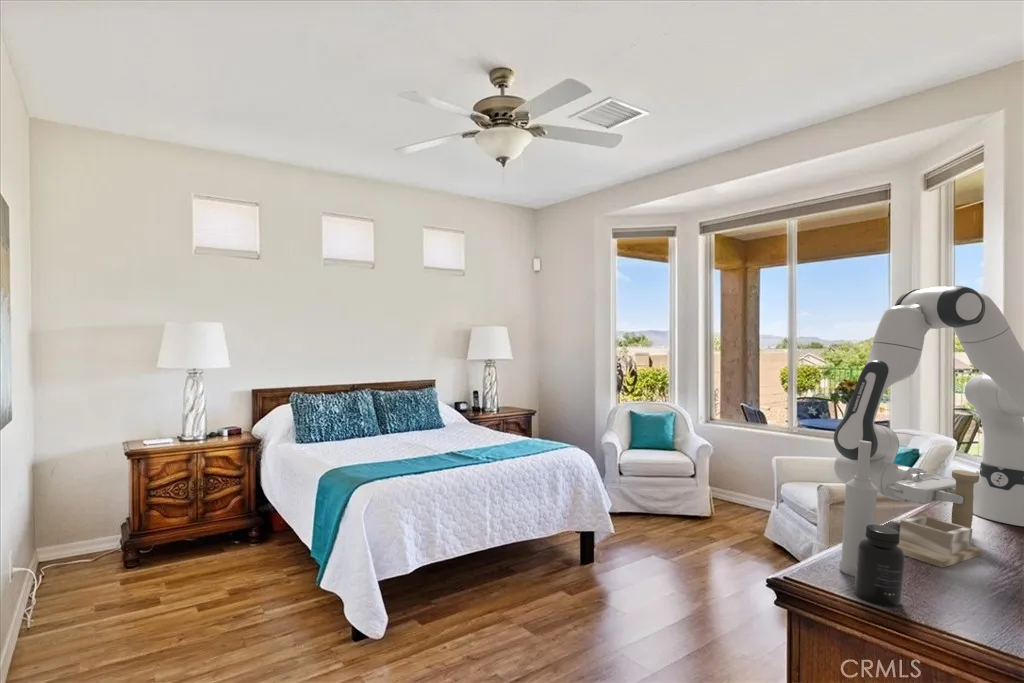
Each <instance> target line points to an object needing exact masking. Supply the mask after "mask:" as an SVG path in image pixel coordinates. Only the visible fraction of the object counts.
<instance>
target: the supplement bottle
mask: <svg viewBox="0 0 1024 683" xmlns="http://www.w3.org/2000/svg"><path fill="white" fill-rule="evenodd" d="M899 536H900V531H898V530H897V529H895V528H892V527H889V526H886V525H880V524H874V525H867V526H866V533H865V537H866V538H867V539H865V540H862V541H861V542H860V543H859V544H858V550H857V563H856V575H855V576H854V578H855V579H854V592H855V594H856V596H857V597H858V598H860V599H862V600H863V601H865V602H868V603H870V604H874V605H876V606H881V607H886V608H892V607H894V608H895V607H898V606H900V605H901V603H902V598H903V596H902V595H903V584H904V574H905V562H906V561H905V560H906V555H905V554H904V552H903V551H902V549H901V548H899V547H898V546H897V545H898V544H899V543H900V540H899Z"/></svg>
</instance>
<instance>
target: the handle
mask: <svg viewBox="0 0 1024 683" xmlns="http://www.w3.org/2000/svg"><path fill="white" fill-rule="evenodd" d="M951 478H953V480H956V487H955V494H958V495H962V496H964V497H965V502H964V503H962V504H958V503H954V502H952V506H951V507H952V508H951V523H953V524H957V525H960V526H964V527H968V528H971V529H972V525H973V517H974V514H973V488H974V483H977V482H978V481H979V478H980V473H977V472H974V471H969V470H963V469H955V470H951Z"/></svg>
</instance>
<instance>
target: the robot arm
mask: <svg viewBox="0 0 1024 683" xmlns="http://www.w3.org/2000/svg"><path fill="white" fill-rule="evenodd" d="M947 328H953V329H954V332H955V335H956V336H957V338H958V340H959V343H960V344H961V347H962V349H963V351H964V353H965V354H966V357H967V359H968V361H969V363H970V364H971V365H972V366H973V367H974V368H975V369H977V370H978V371H980V372H982V373H981V374H976V375H974V376H972V377H970V378H969V379H968V381H967V382H966V384H965V387H964V396H965V399H966V400H967V402H968V403H969V404H970V405H971V406H972V407H973V408H974V409H975V411H976V413H977V414H978V417H979V419H980V423H981V424H982V430H983V458H982V461H980V466H979V481H978V482H977V483H974V488H973V515H975V516H978V517H980V518H984V519H987V520H990V521H994V522H997V523H1003V524H1008V525H1012V526H1019V527H1024V349H1023V348H1022V347H1021V344H1020V342H1019V341H1018V339H1017V338H1016V336H1015V334H1014V332H1013V330H1012V328H1011V326H1010V325H1009V322H1008V321H1007V319H1006V317H1005V316H1004V314H1003V312H1002V311H1001V310H1000V308H999V307H998V305H997V304H996V303H995V302H994V301H993V300H992V298H990V296H989V295H986V294H984V293H980V292H978V291H977V290H975V289H973V288H972V287H967V286H963V285H952V286H951V285H950V286H947V285H946V286H944V285H943V286H940V285H939V286H931V287H928V288H917V289H916V288H915V289H912V290H909V291H907V292H905V293H902V295H900V296H899V298H898V299H897V300H896V302H895V304H894V306H891V307H888V308H887V309H886V310H885V311H884V313H883V315H882V317H881V319H880V321H879V322H878V326H877V328H876V331H875V334H874V338H873V341H872V346H871V350H870V353H869V355H868V358H867V361H866V364H865V365H864V366H863V369H862V371H861V373H860V374H859V376H858V380H857V383H856V385H855V388H854V390H853V392H852V393H853V394H852V396H851V400H850V402H849V405H848V409H847V411H846V413H845V415H844V417H843V419H842V420H841V421H840V422H839V424H838V425H837V426H836V428H835V430H834V433H833V443H834V445H835V448H836V450H837V451H838V452H839V455H838V456H837V457H836V459H835V462H834V473H835V475H836V478H837V479H838V480H839V481H840V483H842V484H844V485H846V483H847V482H849V481H850V480H852V479H854V476H855V475H856V474H857V463H858V447H859V441H860V440H861V441H869V442H872V444H871V453H870V464H869V478H870V479H871V480H870V481H871V482H872V483H873V484H874V485H875V486H876V487H877V489H878V490H877V494H879V495H881V496H883V497H885V498H888V499H892V500H896V501H899V502H904V503H910V502H911V503H912V502H913V503H916V504H920V505H928V504H932V503H937V502H948V503H953V502H954V503H958V504H962V503H964V502H965V497H964V496H962V495H958V494H955V487H956V480H955V479H954V478H953V479H952V478H948V477H945V476H942V475H938V474H935V473H931V472H928V471H927V470H926V469H922V468H917V467H912V466H911V467H910V466H906V465H901V464H897V463H895V461H896V458H897V454H898V453H899V449H900V441H899V437H898V436H897V433H895V431H894V430H893V429H891V428H890V427H888V426H886V425H885V426H884V425H880V424H876V423H875V420H876V416H877V414H878V411H879V408H880V405H881V402H882V399H883V397H884V394H885V392H886V391H887V390H888V389H889V388H890V387H891V386H893V385H895V384H896V383H899V382H902V381H904V380H906V379H908V378H910V377H911V376H913V375H914V373H915V372H916V370H917V368H918V366H919V363H920V361H921V357H922V352H923V349H924V343H925V336H926V335H927V333H928V332H929V330H933V329H936V330H938V329H947Z"/></svg>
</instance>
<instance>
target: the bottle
mask: <svg viewBox="0 0 1024 683" xmlns="http://www.w3.org/2000/svg"><path fill="white" fill-rule="evenodd" d="M871 444H872V442H869V441H861V440H860V441H859V447H858V463H857V474H856V475H855V476H854V479H852V480H850V481H849V482H847V483H846V484H845V493H844V494H845V495H844V509H843V526H842V527H843V528H842V530H843V531H842V542H841V543H842V544H841V545H842V546H841V558H840V559H839V562H838V563H839V570H840V571H841V572H842V573H844V574H846V575H849V576H851V577H855V575H856V563H857V550H858V544H859V543H860V542H861V541H862V540H865V539H867V538H866V537H865V533H866V526H867V525H875V518H876V516H875V515H876V508H877V499H878V498H877V497H878V493H877V490H878V489H877V487H876V486H875V485H874V484H873V483H872V482H871V481H870V480H871V479H870V478H869V464H870V453H871Z"/></svg>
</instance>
